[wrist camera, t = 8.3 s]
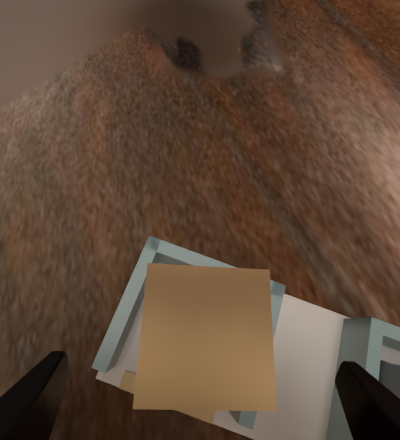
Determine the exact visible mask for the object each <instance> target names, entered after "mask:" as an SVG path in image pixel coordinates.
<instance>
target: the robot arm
mask: <svg viewBox="0 0 400 440" xmlns="http://www.w3.org/2000/svg"><path fill="white" fill-rule="evenodd" d="M68 375H69V365H68V357H67V353H66V352H65V351H53V352H51V353H50V354H48V355H47V356H46V357H45V358H44V359H43V360H42V361H41V362H39V363H38V364H37V365H36V366H35V367H34V368H33V369H32V370H30V371H29V372H28V373H27V374H26V375H25V376H24V377H23V378H21V379H20V380H19V381H18V382H17V383H16V384H15V385H14V386H12V387H11V388H10V389H9V390H8V391H7V392H6V393H5V394H3V395H2V396H1V397H0V440H48V439H49V437H50V434H51V431H52V428H53V425H54V422H55V419H56V416H57V412H58V409H59V406H60V402H61V399H62V396H63V392H64V389H65V386H66V383H67V379H68ZM335 385H336V388H337V392H338V395H339V398H340V401H341V404H342V407H343V411H344V414H345V417H346V420H347V423H348V426H349V429H350V432H351V435H352V438H353V440H400V398H399V397H397V396H396V395H395V394H394V393H393V392H391V391H390V390H389V389H388V388H387V387H385V386H384V385H383V384H382V383H381V382H379V381H378V380H377V379H376V378H375V377H373V376H372V375H371V374H370V373H369V372H367V371H366V370H365V369H364V368H363V367H361V366H360V365H359V364H358V363H356V362H354V361H342V362H341V364H340V366H339V369H338V371H337V374H336V376H335Z"/></svg>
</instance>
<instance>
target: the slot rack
mask: <svg viewBox="0 0 400 440" xmlns="http://www.w3.org/2000/svg"><path fill="white" fill-rule="evenodd" d="M147 263H154V264H172V265H191V266H209V267H227V268H236V267H233V266H231V265H228V264H225V263H223V262H220V261H217V260H214V259H212V258H209V257H206V256H203V255H201V254H198V253H195V252H193V251H190V250H187V249H184V248H182V247H179V246H176V245H173V244H171V243H168V242H165V241H163V240H160V239H157V238H154V237H152V236H149V237H148V240H147V242H146V244H145V246H144V249H143V251H142V253H141V256H140V258H139V260H138V262H137V265H136V267H135V269H134V271H133V274H132V276H131V278H130V281H129V283H128V285H127V287H126V290H125V292H124V294H123V296H122V299H121V301H120V303H119V306H118V308H117V310H116V312H115V315H114V317H113V319H112V321H111V324H110V326H109V328H108V330H107V333H106V335H105V337H104V340H103V342H102V344H101V346H100V349H99V351H98V353H97V355H96V358H95V360H94V362H93V365H92V367H91V368H93V369H96V370H99V371H98V374H97V376H96V379H98V380H101V381H104V382H106V383H109V384H111V385H114V386H117V387H119V388H120V389H122V390H125V391H127V392H130V393H132V394H134V390H135V381H136V371H137V361H138V351H139V341H140V332H141V322H142V312H143V302H144V292H145V283H146V273H147ZM285 287H286V286H285V285H283V284H280V283H277V282H274V281H272V280H270V291H271V310H272V330H273V350H274V369H275V389H276V408H277V411H217V410H176V411H179V412H182V413H184V414H187V415H189V416H192V417H195V418H197V419H200V420H202V421H205V422H207V423H210V424H215V425H217V426H220V427H223V428H225V429H228V430H230V431H233V432H236V433H238V434H241V435H243V436H246V437H249V438H251V439H254V440H353V438H352V435H351V432H350V429H349V426H348V423H347V420H346V417H345V414H344V411H343V407H342V404H341V401H340V398H339V395H338V392H337V388H336V385H335V376H336V374H337V371H338V369H339V366H340V364H341V362H342V361H354V362H356V363H358V364H359V365H360V366H361V367H363V368H364V369H365V370H366V371H367V372H369V373H370V374H371V375H372V376H373V377H375V378H376V379H377V380H378V381H379V371H380V360H383V361H386V362H388V363H391V364H396V365H400V327H397V326H395V325H392V324H389V323H386V322H384V321H381V320H378V319H375V318H373V317H364V318H349V317H346V316H343V315H341V314H338V313H335V312H333V311H330V310H327V309H324V308H322V307H319V306H316V305H314V304H311V303H308V302H305V301H303V300H300V299H297V298H294V297H292V296H289V295H286V294H284V291H285Z"/></svg>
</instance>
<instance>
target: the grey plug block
mask: <svg viewBox="0 0 400 440" xmlns="http://www.w3.org/2000/svg"><path fill="white" fill-rule="evenodd" d="M379 382H381V383H382V384H383V385H384V386H385V387H387V388H388V389H389V390H390V391H391V392H393V393H394V394H395V395H396V396H397V397H399V398H400V365H396V364H391V363H388V362H386V361H383V360H380V371H379Z"/></svg>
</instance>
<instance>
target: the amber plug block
mask: <svg viewBox="0 0 400 440" xmlns="http://www.w3.org/2000/svg"><path fill="white" fill-rule="evenodd" d="M133 409H155V410H217V411H277V408H276V389H275V369H274V350H273V330H272V310H271V291H270V271H269V270H263V269H245V268H227V267H209V266H191V265H172V264H154V263H147V273H146V283H145V292H144V302H143V312H142V322H141V332H140V341H139V351H138V361H137V371H136V381H135V390H134V400H133Z"/></svg>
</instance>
